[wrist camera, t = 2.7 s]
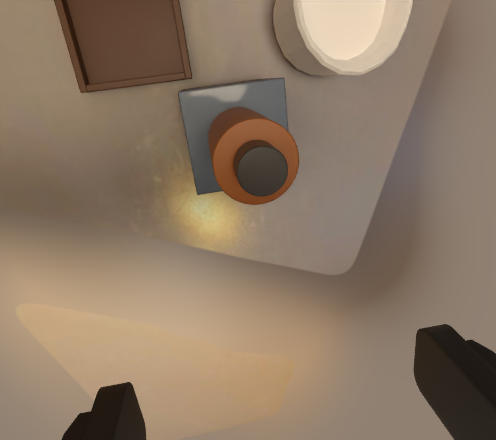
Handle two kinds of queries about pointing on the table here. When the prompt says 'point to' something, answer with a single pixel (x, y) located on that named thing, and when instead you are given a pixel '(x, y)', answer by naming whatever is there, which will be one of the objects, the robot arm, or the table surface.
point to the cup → (339, 33)
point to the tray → (124, 42)
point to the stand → (215, 102)
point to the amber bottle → (252, 156)
